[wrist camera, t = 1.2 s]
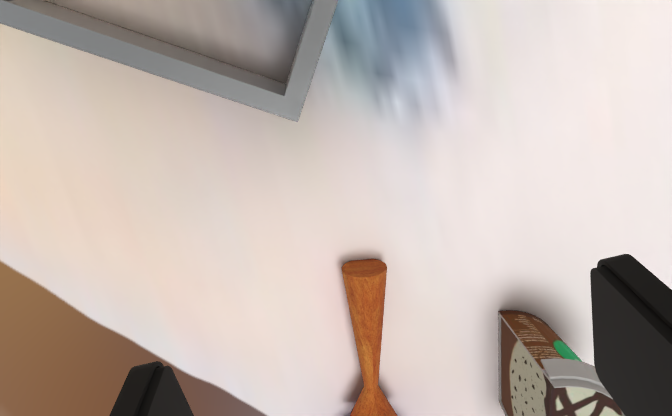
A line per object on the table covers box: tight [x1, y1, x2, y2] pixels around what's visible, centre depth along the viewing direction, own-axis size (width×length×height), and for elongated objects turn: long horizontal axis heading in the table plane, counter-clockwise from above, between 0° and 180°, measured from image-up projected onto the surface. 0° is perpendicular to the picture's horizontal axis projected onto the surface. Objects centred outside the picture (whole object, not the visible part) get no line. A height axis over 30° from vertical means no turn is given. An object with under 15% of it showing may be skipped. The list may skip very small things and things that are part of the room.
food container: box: [498, 310, 625, 416], centre depth 40 cm, size 12×6×10 cm, turn 7°
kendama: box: [342, 259, 397, 416], centre depth 42 cm, size 6×6×20 cm
